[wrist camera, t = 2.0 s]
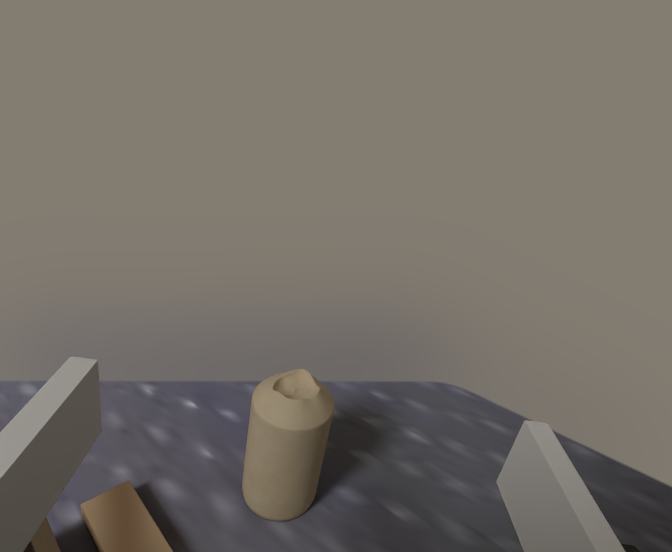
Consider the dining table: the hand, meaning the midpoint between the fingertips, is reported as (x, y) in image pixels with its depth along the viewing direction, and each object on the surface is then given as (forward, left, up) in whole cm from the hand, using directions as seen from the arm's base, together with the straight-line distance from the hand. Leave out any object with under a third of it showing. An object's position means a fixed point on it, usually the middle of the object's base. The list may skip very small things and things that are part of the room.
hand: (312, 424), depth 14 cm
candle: (-9, -9, -19) cm, 23 cm away
